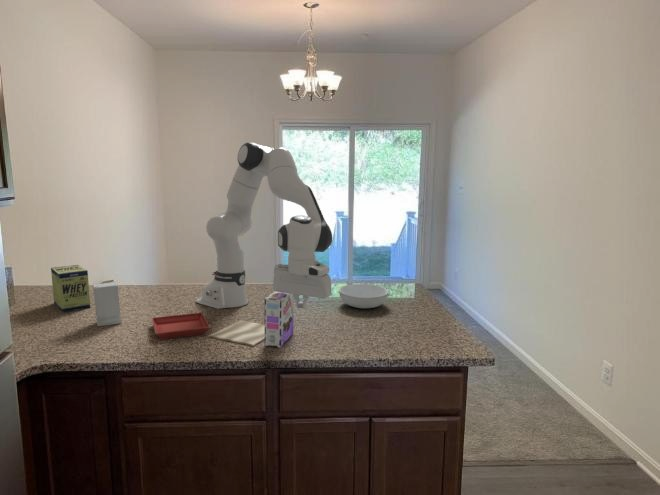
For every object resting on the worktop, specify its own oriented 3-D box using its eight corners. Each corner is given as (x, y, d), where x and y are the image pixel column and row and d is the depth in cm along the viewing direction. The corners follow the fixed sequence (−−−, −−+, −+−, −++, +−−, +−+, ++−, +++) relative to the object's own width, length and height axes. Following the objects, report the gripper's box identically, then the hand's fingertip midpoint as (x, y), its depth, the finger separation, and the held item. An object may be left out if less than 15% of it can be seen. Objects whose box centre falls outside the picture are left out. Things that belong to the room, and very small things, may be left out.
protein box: (62, 312, 184) (59, 274, 182) (53, 303, 196) (50, 267, 193) (91, 307, 191) (88, 270, 188) (80, 299, 203) (78, 264, 200)
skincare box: (120, 319, 178) (118, 281, 175) (121, 324, 172) (119, 284, 170) (96, 322, 174) (93, 283, 172) (96, 327, 169) (93, 287, 166)
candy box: (281, 348, 152) (280, 299, 150) (263, 346, 154) (263, 297, 151) (294, 333, 166) (294, 288, 163) (278, 332, 167) (278, 287, 164)
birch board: (209, 337, 161) (209, 335, 161) (241, 321, 177) (241, 320, 177) (253, 346, 154) (253, 344, 154) (282, 329, 170) (282, 327, 170)
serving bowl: (331, 309, 195) (331, 293, 194) (348, 296, 214) (348, 282, 213) (379, 315, 188) (380, 299, 186) (392, 302, 207) (393, 287, 205)
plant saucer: (152, 325, 172) (151, 317, 172) (202, 320, 180) (201, 311, 179) (155, 342, 156) (155, 333, 156) (210, 335, 164) (210, 326, 163)
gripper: (269, 264, 153) (269, 305, 156) (325, 271, 145) (324, 314, 147) (279, 261, 159) (279, 300, 161) (334, 268, 150) (333, 309, 153)
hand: (301, 307), depth 154 cm, fingers closed
